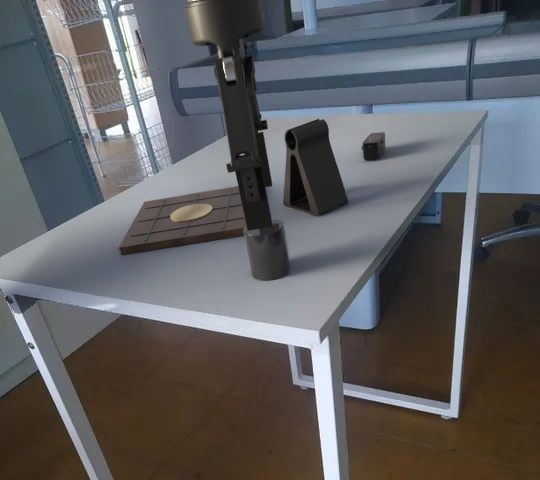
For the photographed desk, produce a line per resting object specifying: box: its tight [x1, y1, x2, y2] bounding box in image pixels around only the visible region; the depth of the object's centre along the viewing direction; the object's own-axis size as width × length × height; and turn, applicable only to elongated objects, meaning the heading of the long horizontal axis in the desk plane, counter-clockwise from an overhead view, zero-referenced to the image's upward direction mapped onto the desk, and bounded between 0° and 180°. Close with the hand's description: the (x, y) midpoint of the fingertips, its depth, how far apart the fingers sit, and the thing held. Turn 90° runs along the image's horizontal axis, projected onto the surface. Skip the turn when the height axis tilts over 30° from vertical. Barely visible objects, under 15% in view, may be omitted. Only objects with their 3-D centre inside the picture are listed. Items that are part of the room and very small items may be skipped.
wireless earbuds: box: [360, 131, 386, 162], centre depth 101 cm, size 5×7×3 cm, turn 156°
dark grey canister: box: [243, 218, 291, 281], centre depth 68 cm, size 5×5×6 cm
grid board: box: [118, 185, 247, 255], centre depth 89 cm, size 20×20×1 cm
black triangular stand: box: [282, 118, 349, 217], centre depth 82 cm, size 9×6×12 cm, turn 36°
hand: (261, 206), depth 65 cm, fingers open, 13 cm apart
